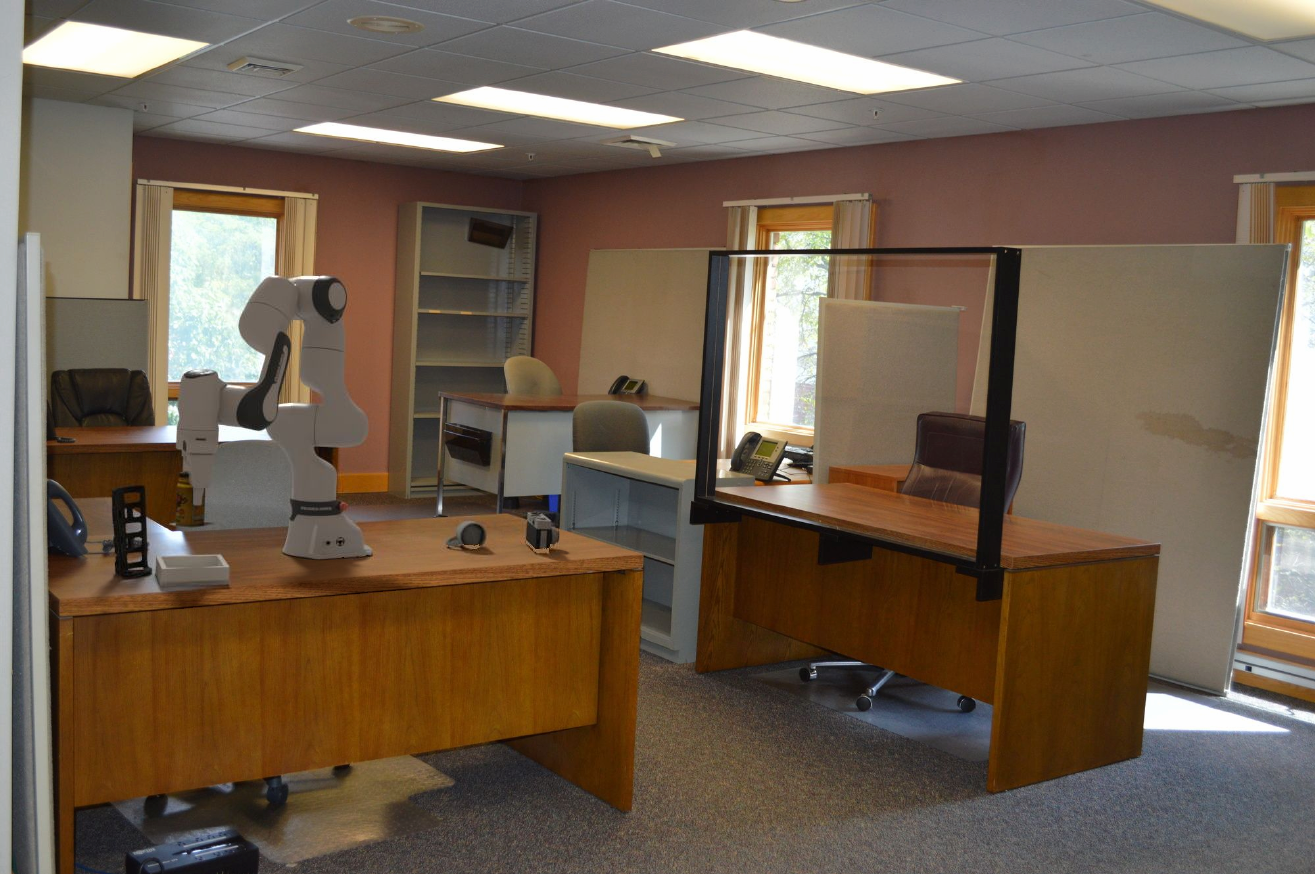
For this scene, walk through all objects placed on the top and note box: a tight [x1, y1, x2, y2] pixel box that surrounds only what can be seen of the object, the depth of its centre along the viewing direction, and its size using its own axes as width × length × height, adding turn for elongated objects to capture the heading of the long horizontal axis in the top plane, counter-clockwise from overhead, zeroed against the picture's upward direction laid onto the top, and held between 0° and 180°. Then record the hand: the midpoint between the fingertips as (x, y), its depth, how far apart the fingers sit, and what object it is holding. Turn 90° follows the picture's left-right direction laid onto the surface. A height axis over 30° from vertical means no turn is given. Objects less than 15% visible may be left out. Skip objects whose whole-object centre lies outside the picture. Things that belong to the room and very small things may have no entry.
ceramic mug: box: [444, 520, 487, 548], centre depth 318 cm, size 11×8×8 cm
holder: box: [110, 484, 153, 580], centre depth 257 cm, size 11×8×20 cm
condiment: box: [170, 471, 217, 529], centre depth 256 cm, size 7×8×12 cm
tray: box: [155, 554, 231, 588], centre depth 257 cm, size 14×14×4 cm
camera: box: [525, 511, 560, 549], centre depth 324 cm, size 14×8×10 cm, turn 18°
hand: (195, 502), depth 256 cm, fingers closed on condiment, 6 cm apart
